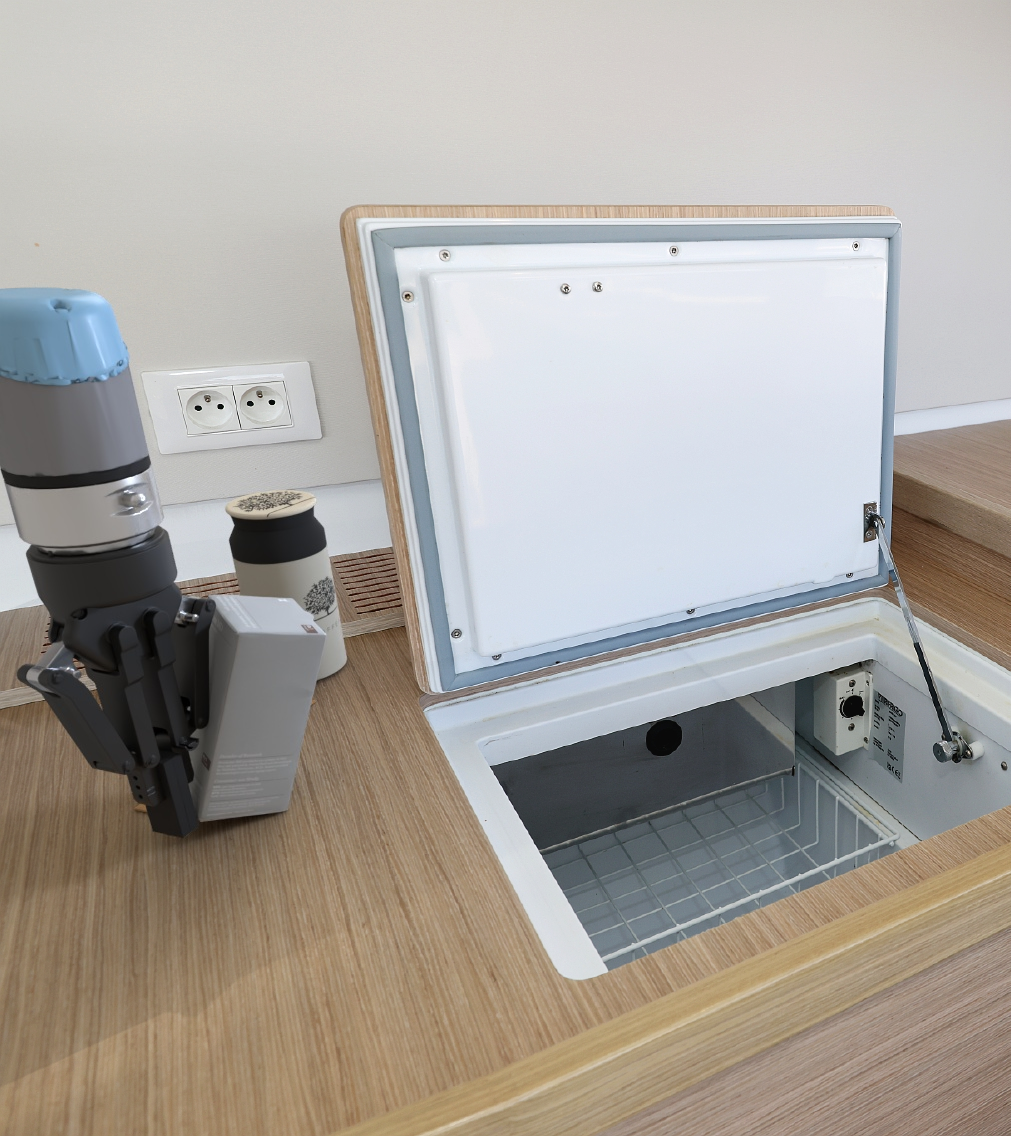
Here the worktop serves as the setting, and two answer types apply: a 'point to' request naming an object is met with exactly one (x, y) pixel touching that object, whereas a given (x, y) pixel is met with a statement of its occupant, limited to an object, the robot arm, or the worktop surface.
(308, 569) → the travel mug
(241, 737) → the cosmetic box
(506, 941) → the worktop surface
